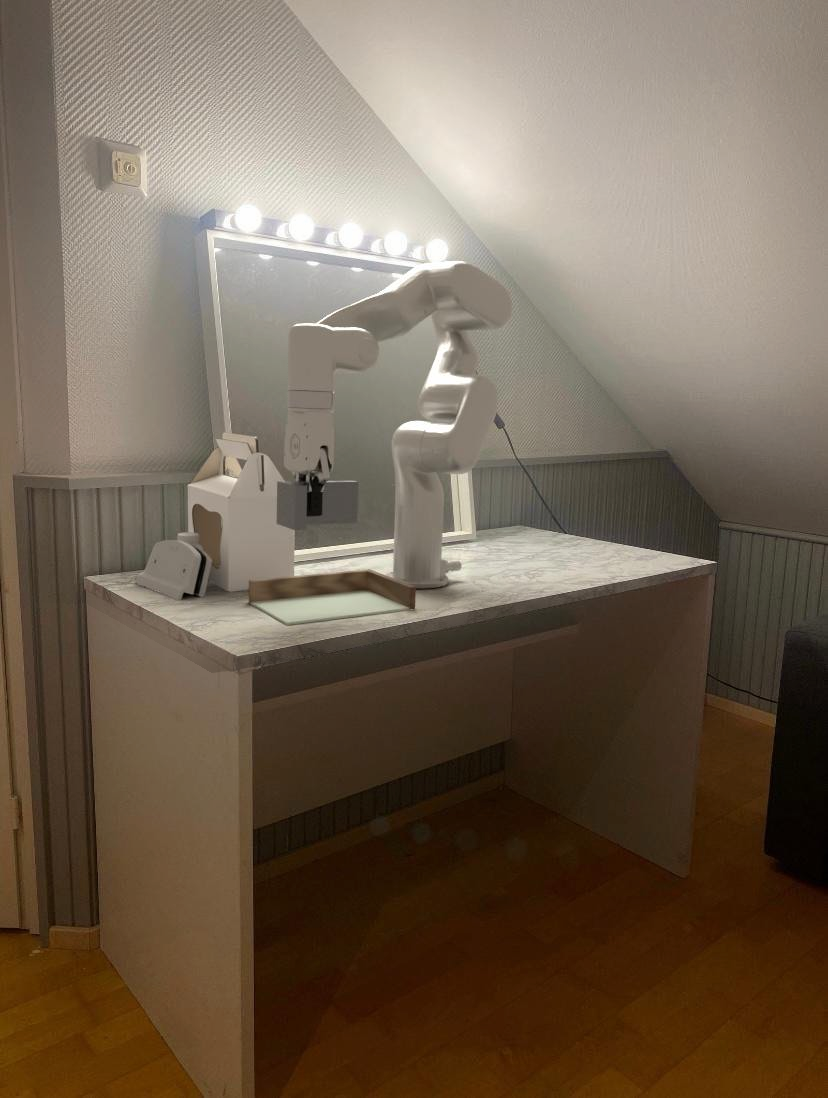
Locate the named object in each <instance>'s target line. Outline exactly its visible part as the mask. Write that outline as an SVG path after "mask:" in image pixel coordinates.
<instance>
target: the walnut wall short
mask: <svg viewBox="0 0 828 1098" xmlns="http://www.w3.org/2000/svg"><path fill="white" fill-rule="evenodd" d="M367 590H368V591H370V592H373V593H375V594H378V595H380V596H382V597H385V598H387V599H390V600H392V601H394V602H397V603H399V604H402V605H404V606H406V607H409V610H408V611H411V610H410V609H413V610H416V593H417V591H416V590H417V588H416V587H415V586H413V585H410V584H407V583H405V582H402V581H399V580H397V579H394V578H391V577H389V576H386V574H383V573H381V572H378V571H375V570H373V571H367Z"/></svg>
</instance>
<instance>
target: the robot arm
mask: <svg viewBox="0 0 828 1098" xmlns="http://www.w3.org/2000/svg"><path fill="white" fill-rule="evenodd" d="M512 313H513V301H512V297H511V294H510V292H509V291H508V289H507V287H505V286H504V285H503V283H501V282H500V281H498V280H497V279H495V278H494V277H492V276H491V275H489V274H488V273H486V272H485V271H483V270H481V269H480V268H478V267H477V266H476V265H475V266H474V265H473V264H470V263H468V262H465V261H462V260H461V261H460V260H458V261H457V260H453V261H443V262H431V263H430V262H428V263H424V264H420V265H417V266H416V267H414V268H412V269H411V270H409V271H408V272H407V273H405V274H404V275H403V276H401V277H400V278H399V279H397V280H395V281H394V282H393V283H391V284H390V285H389V286H387V287H386V288H385V289H383V290H382V291H379V293H377V294H374V295H371V296H369V297H366V298H364V299H361V300H359V301H358V302H354V303H352V304H351V305H347V306H344V307H342V308H340V309H338V310H336V311H334V312H332V313H331V314H329V315H326V317H323V319H321V320H319V321H318V322H316V323H297V324H295V325H292V326H291V328H290V329H289V332H288V353H287V354H288V357H287V358H288V363H287V364H288V366H287V367H288V368H287V371H288V372H287V373H288V374H287V411H288V412H287V417H286V422H285V423H286V424H285V433H284V445H283V446H284V447H283V466H284V468H285V469H286V470H288V471H290V473H291V474H292V476H293V477H294V481H306V485H307V514H306V516H307V517H308V516H321V515H322V498H323V491H324V484H325V482H327V481H330V480H331V479H330V478H331V472H332V471H333V470H334V464H335V430H334V418H333V413H334V412H335V388H336V387H335V385H336V384H335V382H336V379H335V377H336V376H335V375H336V374H346V375H353V374H355V375H356V374H363V373H365V372H368V371H370V370H371V369H372V368H373V367H374V366H375V365H376V363H377V362H378V360H379V356H380V346H379V343H381V342H382V343H383V342H386V341H390V340H394V339H397V338H400V337H403V336H405V335H407V334H408V333H409V332H411V331H412V330H413V329H414V328H416V327H418V325H419V324H420V323H422V322H423V321H425V319H427V318H428V317H429V316H430V317H431V321H432V323H433V327H434V332H435V337H436V341H437V351H436V355H435V358H434V361H433V363H432V365H431V367H430V370H429V372H428V375H427V377H426V379H425V382H424V384H423V386H422V388H421V391H420V394H419V397H418V401H417V403H418V404H417V406H418V407H417V408H418V411H419V414H420V415H421V416H422V417H423V418H424V419H426V420H411V421H408V422H404V423H403V424H401V425H400V426H399V427H397V428H396V429H395V431H394V432H393V436H392V438H391V455H392V461H393V467H394V476H395V477H394V478H395V480H394V481H395V483H394V484H395V494H394V497H395V498H394V499H395V500H394V531H393V535H394V536H393V558H392V559H393V561H392V563H393V565H392V571H391V572H388V573H386V574H385V575H386V576H389V577H391V578H394V579H397V580H399V581H402V582H405V583H407V584H410V585H413V586H415V587H416V589H434V588H441V586H442V587H445V586H447V585H448V584H449V576H447V575H446V574H447V573H449V572H450V571H451V572H455V571H460V570H461V569H462V563H461V562H460V561H459V560H456V561H448V560H446V559H443V558H442V555H443V552H442V551H443V534H444V533H443V531H444V529H443V528H444V527H443V526H444V510H445V507H444V504H445V492H444V488H443V484H442V482H441V480H440V478H439V476H438V474H440V473H441V474H449V475H450V474H451V475H464V474H467V473H469V472H470V471H471V470H472V469H473V468H474V467H475V466H476V464H477V462H478V460H479V459H480V456H481V453H482V452H483V449H484V446H485V443H486V441H487V439H488V436H489V434H490V431H491V429H492V427H493V424H494V421H495V418H496V416H497V412H498V407H499V393H498V388H497V386H496V385H495V383H494V380H492V379H491V378H489V377H488V376H486V375H483V374H476V371H477V369H478V365H479V355H478V351H477V349H476V347H475V345H474V344H473V342H472V339H471V337H470V335H469V333H468V331H484V330H485V331H489V330H497V329H500V328H503V327H504V326H505V325H506V324H507V323H508V322H509V320H510V319H511V316H512Z"/></svg>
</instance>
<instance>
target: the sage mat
mask: <svg viewBox="0 0 828 1098" xmlns="http://www.w3.org/2000/svg"><path fill="white" fill-rule="evenodd" d="M250 605H251V606H253V607H255V608H256V609H258V610H260V611H262V612H263V613H265V614H267V615H269V616H270V617H273V618H274V619H275V620H277V621H280V622H281V623H283V624H284V625H285V626H290V625H292V626H293V625H299V624H308V623H317V622H324V621H331V620H341V619H348V618H358V617H363V616H373V615H381V614H386V613H387V614H388V613H396V612H404V610H405V611H410V610H409V607H406V606H404V605H402V604H399V603H397V602H394V601H392V600H390V599H387V598H385V597H382V596H380V595H378V594H375V593H373V592H370V591H368V590H361V591H352V592H343V593H333V594H324V595H314V596H305V597H295V598H286V599H276V600H267V601H257V602H251V604H250Z"/></svg>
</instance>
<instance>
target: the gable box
mask: <svg viewBox="0 0 828 1098" xmlns="http://www.w3.org/2000/svg"><path fill="white" fill-rule="evenodd" d="M215 441H216V442H217V445H218V447H215V448H214V449H213V450H212V451H211V452H210V454H209V455H208V457H206V460H204V462H203V464H202V465H201V467H200V469H198V471H197V473H196V474H195V475H194V477H193V478H192V480H191V482H190V483H188V484H187V532H192V533H198V534H199V542H198V544H200V545H201V546H202V548H203V551H204V552H205V553H207V554H208V555H209V557H210V558H211V560H212V564H211V569H210V573H209V577H208V582H210V583H212V584H214V585H216V586H217V587H219V588H221V589H223V590H225V591H226V592H228V593H232V592H241V591H242V592H245V591H249V580H257V579H268V578H280V577H291V576H295V534H296V532H295V531H296V530H293V529H290V528H287V527H284V526H281V525H278V524H277V481H285V479H284V478H283V476H282V475H281V473H280V472H279V471H278V469H277V468H276V466H275V464H274V462H273V461H272V460H271V458H270V456H268V455H267V454H265V453H263V452H259V451H260V450H259V439H258V437H257V436H253V435H247V434H241V433H240V434H239V433H233V432H232V433H231V432H223V433H222V438H220V437H215ZM238 459H239V460H245V463H244V465H243V467H241V465H240V464H239V461H238ZM227 468H228V469H231V470H233V471H234V474H235V477H232V476H228V475H225V471H226V470H227ZM220 515H221V516H220ZM221 517H222V521H223V529H222V527H221ZM218 566H220V567H218Z"/></svg>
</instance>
